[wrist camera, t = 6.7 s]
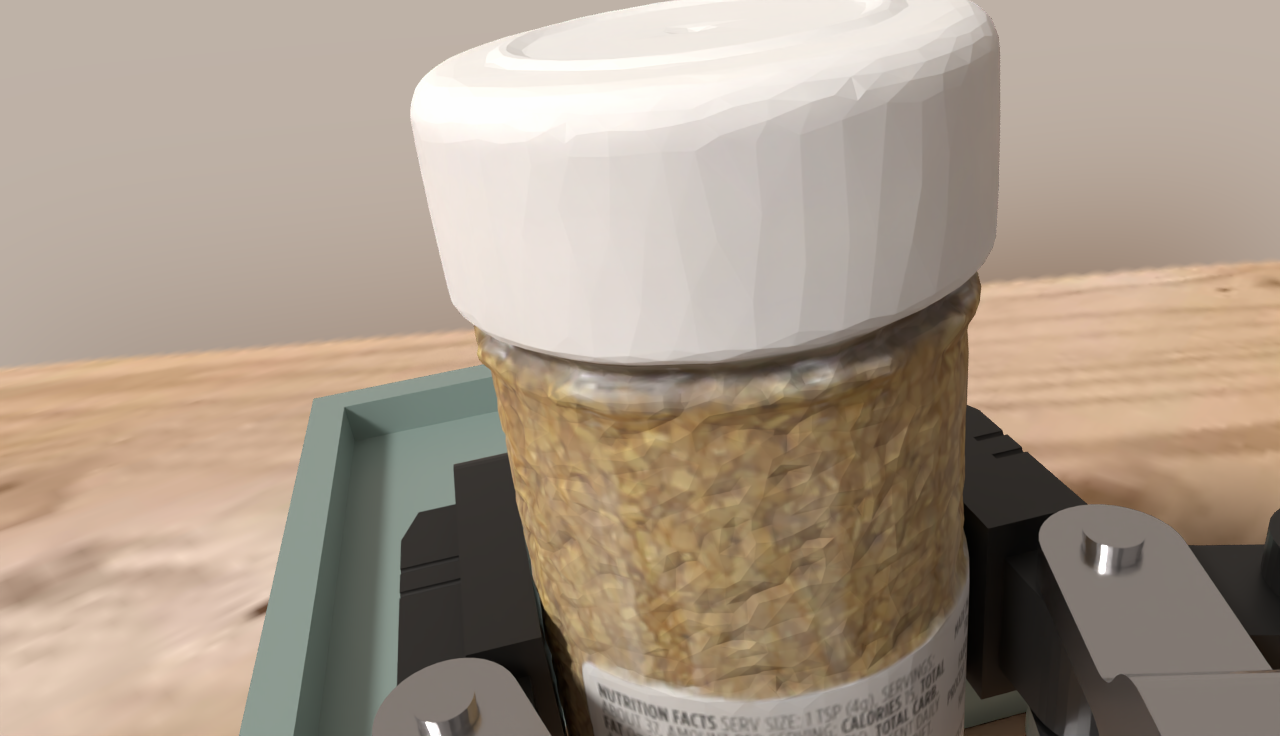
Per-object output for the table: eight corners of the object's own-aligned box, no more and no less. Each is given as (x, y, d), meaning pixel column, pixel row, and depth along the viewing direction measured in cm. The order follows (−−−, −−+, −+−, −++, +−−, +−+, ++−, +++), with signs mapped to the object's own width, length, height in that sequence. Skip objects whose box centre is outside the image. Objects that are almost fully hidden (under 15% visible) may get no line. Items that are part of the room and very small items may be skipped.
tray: (810, 347, 32) (808, 298, 31) (1119, 686, 18) (1128, 613, 17) (329, 448, 30) (313, 398, 29) (248, 922, 16) (213, 850, 15)
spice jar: (671, 856, 16) (525, 7, 10) (959, 901, 15) (988, -45, 9) (587, 1179, 12) (268, 107, 6) (969, 1281, 11) (1036, 39, 5)
